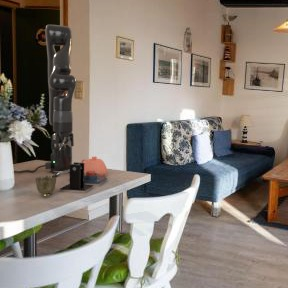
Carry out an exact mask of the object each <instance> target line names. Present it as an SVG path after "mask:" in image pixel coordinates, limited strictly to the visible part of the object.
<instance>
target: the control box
mask: <svg viewBox="0 0 288 288" xmlns="http://www.w3.org/2000/svg"><path fill="white" fill-rule="evenodd" d="M107 180H108V176H105V175H104V176H99V174H97V173H95V175H93V176H87V175H86V173H85V174H84V184H88V185H100V184H102V183H103V182H105V181H107Z"/></svg>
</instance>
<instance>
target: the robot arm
mask: <svg viewBox="0 0 288 288" xmlns="http://www.w3.org/2000/svg"><path fill="white" fill-rule="evenodd" d="M44 31H45V45H46V53H47V83H48V95H49V102H48V104H49V107H48V114H49V115H48V119H49V124H50V126H51V127H52V132H54V133H53V134H52V135H51V145H50V148H51V149H50V150H52V153H50V160H49V161H46V162H44V164H41V165H39V166H37V167H35V169H33V170H32V169H31V170H30V169H22V170H14V172H13V173H16V174H21V173H26V172H28V173H36V172H37V171H38V170H39V169H41V168H44V167H45V170H50V172H51V173H55V174H57V173H61V172H64V171H66V170H69V169H70V164H73V147H74V146H75V145H74V144H75V143H74V140H75V139H74V133H73V124H74V123H73V120H74V114H73V113H74V112H73V96H74V92H75V90H76V87H77V85H78V84H77V78H76V77H75V76H74V75H73V74H71V73H72V66H71V65H72V64H71V55H72V47H73V32H72V29H71V28H70V26H66V25H60V24H59V25H58V24H47V25H46V26H45V30H44ZM55 46H57V47H58V46H59V47H61V48H60V49H59V50H58V51H56V49H55ZM65 93H66V94H65Z"/></svg>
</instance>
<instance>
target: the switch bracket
mask: <svg viewBox="0 0 288 288" xmlns="http://www.w3.org/2000/svg"><path fill="white" fill-rule="evenodd" d="M84 163H85V162H83V163H81V162H78V161H77V162H76V161H75V162H73V163H72V164H70V172H69V183H67V184H66V185H64V186H62V187H61V188H59V190H61V191H81V192H86V191H88V190H89V189H90V188H92V187H94V184H85V183H84ZM78 164H80V165H78ZM81 167H82V169H81Z"/></svg>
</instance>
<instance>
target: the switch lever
mask: <svg viewBox="0 0 288 288" xmlns="http://www.w3.org/2000/svg"><path fill="white" fill-rule="evenodd" d="M78 165H80V164H78ZM81 169H82V167H81ZM68 173H70V169H69V170H66V171H64V172H61V173H55V174H53V175H51V178H53V177H56V178H58V177H61V176H62V175H66V174H68Z"/></svg>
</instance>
